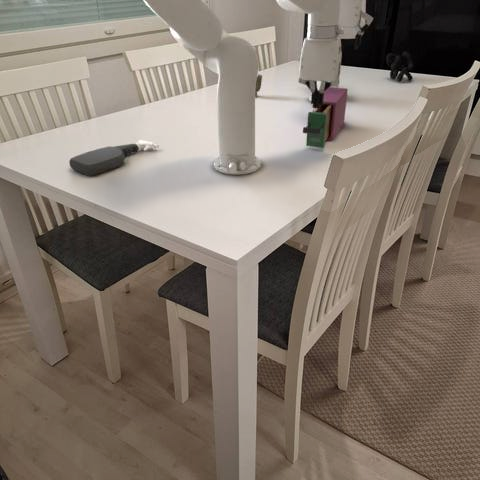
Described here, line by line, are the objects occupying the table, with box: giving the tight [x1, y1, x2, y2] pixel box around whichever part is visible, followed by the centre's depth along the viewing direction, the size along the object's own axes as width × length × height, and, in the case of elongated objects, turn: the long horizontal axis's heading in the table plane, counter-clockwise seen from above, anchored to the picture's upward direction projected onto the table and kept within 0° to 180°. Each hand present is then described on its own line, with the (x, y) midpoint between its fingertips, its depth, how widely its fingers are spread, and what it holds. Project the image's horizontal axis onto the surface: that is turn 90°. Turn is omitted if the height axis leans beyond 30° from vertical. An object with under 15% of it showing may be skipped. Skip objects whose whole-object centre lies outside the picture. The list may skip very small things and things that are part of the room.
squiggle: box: [385, 51, 414, 83], centre depth 198 cm, size 11×10×15 cm
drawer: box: [302, 104, 333, 149], centre depth 130 cm, size 22×5×10 cm, turn 158°
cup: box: [255, 73, 263, 97], centre depth 179 cm, size 8×7×8 cm
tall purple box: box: [313, 87, 349, 141], centre depth 140 cm, size 18×6×11 cm, turn 158°
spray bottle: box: [68, 139, 160, 177], centre depth 124 cm, size 3×11×24 cm
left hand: (316, 106), depth 121 cm, fingers closed
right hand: (340, 47), depth 135 cm, fingers open, 9 cm apart
